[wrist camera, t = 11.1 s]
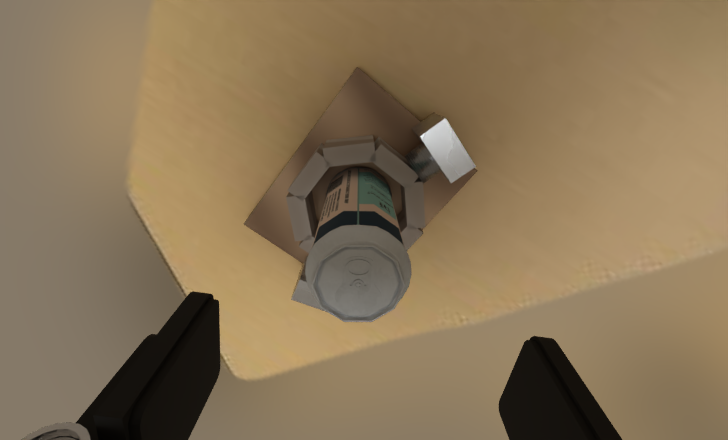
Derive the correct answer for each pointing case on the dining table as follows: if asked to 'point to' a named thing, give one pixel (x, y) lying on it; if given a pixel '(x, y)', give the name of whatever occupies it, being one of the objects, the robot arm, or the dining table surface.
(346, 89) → the octagonal gimbal ring stand
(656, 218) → the dining table surface
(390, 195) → the beer can
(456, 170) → the shaft in
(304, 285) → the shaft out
